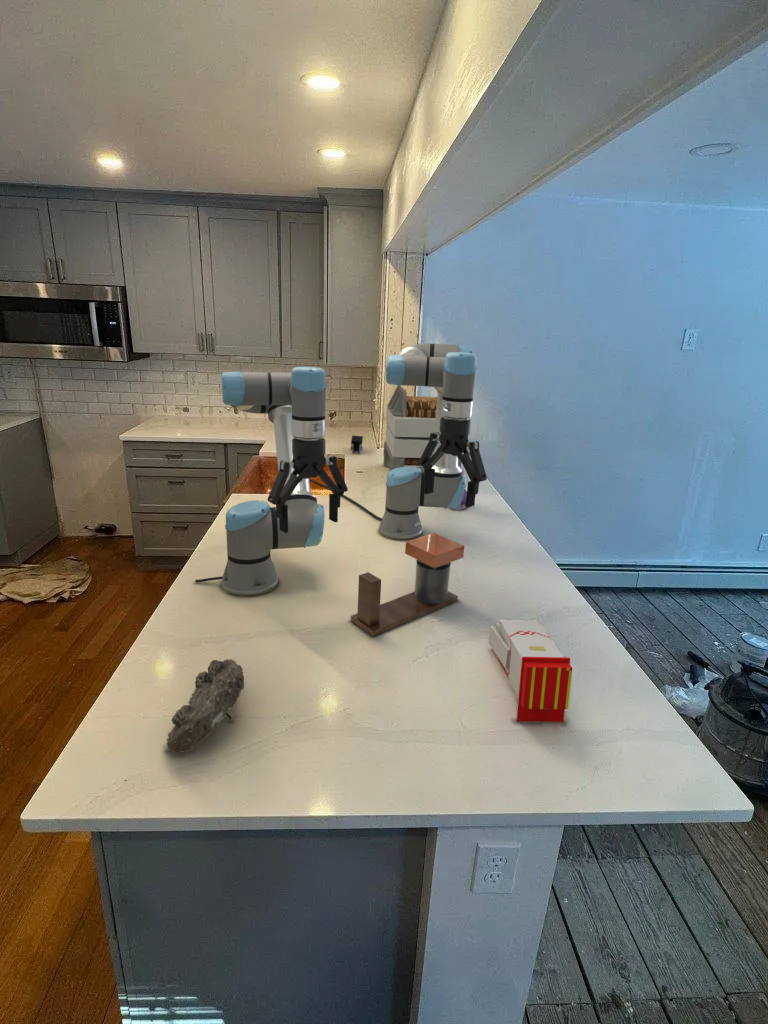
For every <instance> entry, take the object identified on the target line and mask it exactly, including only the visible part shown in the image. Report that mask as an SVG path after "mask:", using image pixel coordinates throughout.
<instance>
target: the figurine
mask: <svg viewBox="0 0 768 1024" xmlns="http://www.w3.org/2000/svg"><path fill="white" fill-rule="evenodd" d="M461 470H462V469H461ZM461 475H464V476H465V469H463V470H462V473H461ZM464 486H465V487H464V492H463V496H462V500H461V503H460V505H459V506H458V507H457V508H450V509H451V510H455V511H461V510H465V509H468V508H467V507H466V497H467V489H466V488H467V487H466V486H467V485H466V483H465V485H464Z"/></svg>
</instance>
